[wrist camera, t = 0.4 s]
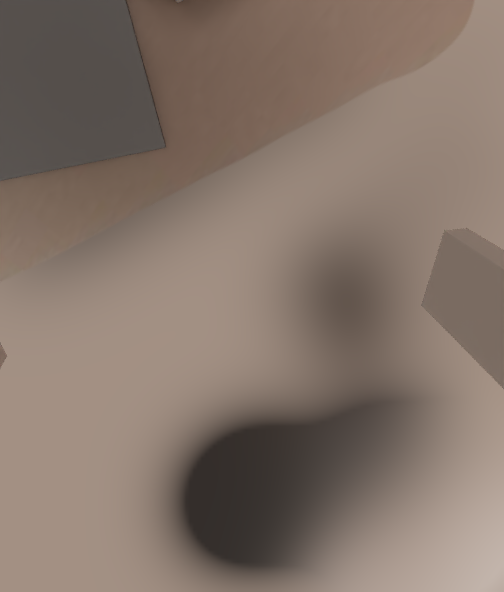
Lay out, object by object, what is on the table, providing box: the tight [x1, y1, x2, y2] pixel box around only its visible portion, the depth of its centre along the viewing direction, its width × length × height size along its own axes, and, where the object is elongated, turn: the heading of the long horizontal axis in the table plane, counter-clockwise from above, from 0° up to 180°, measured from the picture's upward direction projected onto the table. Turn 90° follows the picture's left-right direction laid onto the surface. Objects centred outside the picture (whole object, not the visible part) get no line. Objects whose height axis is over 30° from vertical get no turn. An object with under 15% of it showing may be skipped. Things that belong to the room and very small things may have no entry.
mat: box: [0, 0, 166, 181], centre depth 26 cm, size 20×16×1 cm
